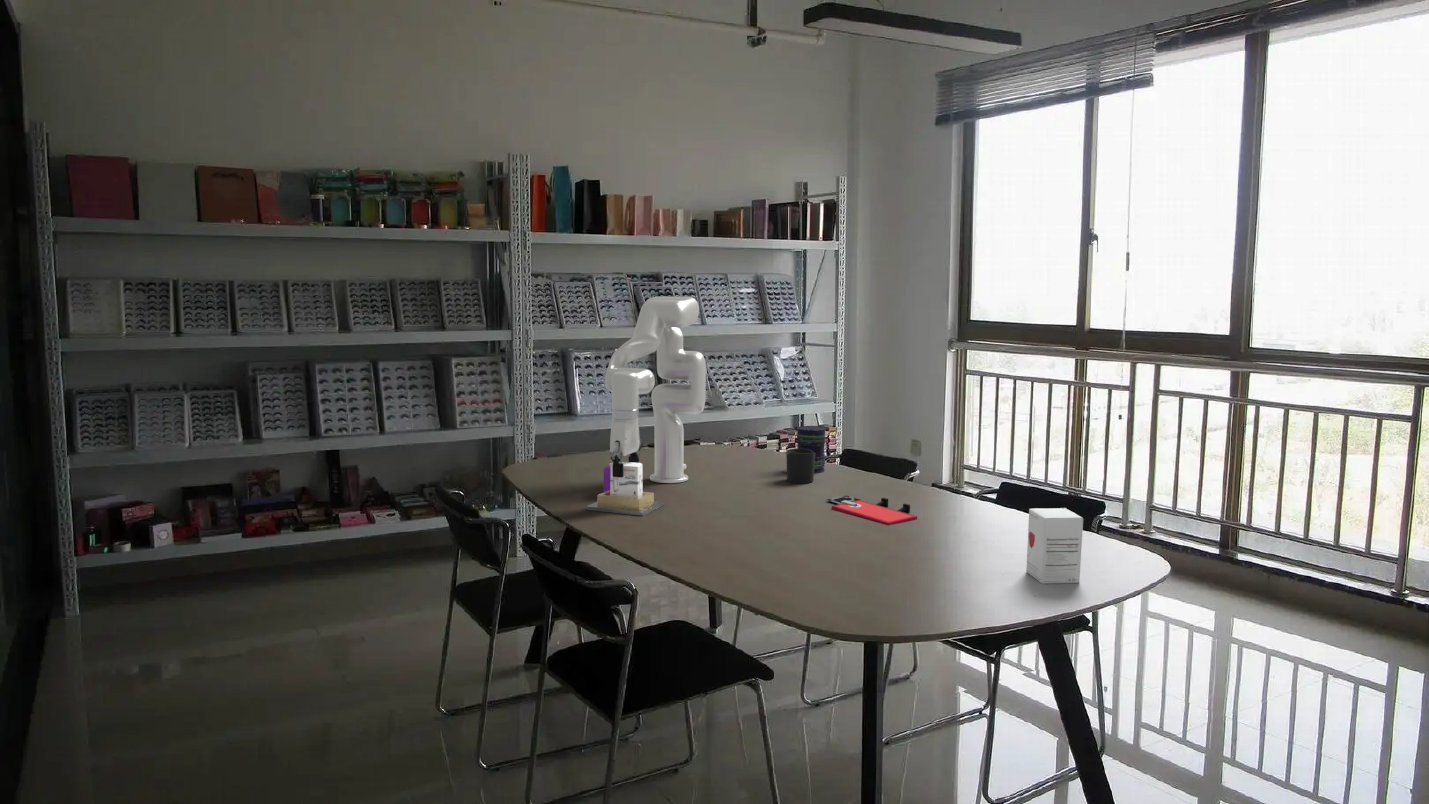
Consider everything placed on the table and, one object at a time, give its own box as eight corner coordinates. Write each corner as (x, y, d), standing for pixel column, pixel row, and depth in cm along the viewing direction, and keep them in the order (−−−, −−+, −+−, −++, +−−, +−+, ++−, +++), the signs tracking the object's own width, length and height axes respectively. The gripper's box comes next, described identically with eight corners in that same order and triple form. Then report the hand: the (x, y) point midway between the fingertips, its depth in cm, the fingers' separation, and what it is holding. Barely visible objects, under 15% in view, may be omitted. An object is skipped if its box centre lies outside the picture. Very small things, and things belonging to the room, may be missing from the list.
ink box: (609, 504, 280) (608, 464, 279) (614, 501, 285) (614, 461, 284) (638, 506, 278) (638, 465, 277) (643, 502, 283) (643, 462, 282)
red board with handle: (850, 497, 297) (814, 505, 288) (850, 488, 296) (814, 496, 287) (926, 519, 273) (888, 528, 264) (926, 509, 272) (889, 517, 264)
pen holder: (819, 480, 321) (820, 450, 320) (806, 485, 313) (807, 454, 312) (794, 477, 326) (794, 447, 325) (780, 481, 318) (781, 451, 317)
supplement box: (1024, 571, 223) (1027, 507, 221) (1062, 571, 223) (1066, 507, 222) (1041, 584, 214) (1044, 517, 212) (1080, 583, 214) (1084, 517, 213)
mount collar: (609, 499, 291) (609, 486, 291) (664, 505, 285) (664, 491, 284) (586, 509, 279) (586, 496, 278) (642, 515, 272) (642, 501, 271)
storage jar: (797, 467, 342) (797, 425, 341) (825, 468, 341) (826, 426, 339) (795, 473, 333) (796, 429, 331) (824, 473, 331) (825, 430, 329)
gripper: (627, 409, 288) (628, 466, 290) (599, 418, 272) (600, 478, 274) (650, 411, 285) (651, 468, 287) (622, 420, 269) (623, 480, 271)
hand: (626, 473), depth 281 cm, fingers open, 9 cm apart
